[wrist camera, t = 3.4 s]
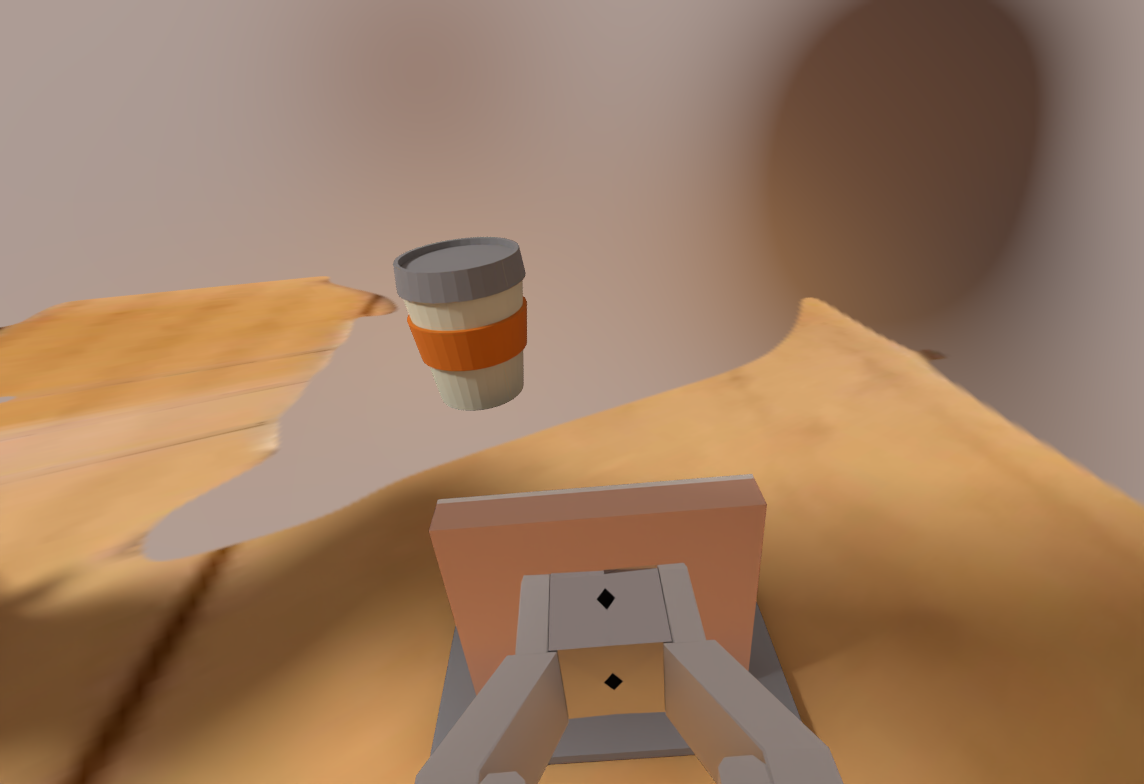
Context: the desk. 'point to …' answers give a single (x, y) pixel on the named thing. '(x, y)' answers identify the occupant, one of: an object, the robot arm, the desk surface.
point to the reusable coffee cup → (467, 317)
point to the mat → (614, 731)
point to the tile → (600, 552)
